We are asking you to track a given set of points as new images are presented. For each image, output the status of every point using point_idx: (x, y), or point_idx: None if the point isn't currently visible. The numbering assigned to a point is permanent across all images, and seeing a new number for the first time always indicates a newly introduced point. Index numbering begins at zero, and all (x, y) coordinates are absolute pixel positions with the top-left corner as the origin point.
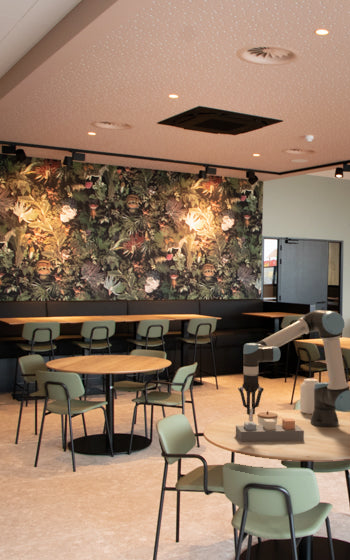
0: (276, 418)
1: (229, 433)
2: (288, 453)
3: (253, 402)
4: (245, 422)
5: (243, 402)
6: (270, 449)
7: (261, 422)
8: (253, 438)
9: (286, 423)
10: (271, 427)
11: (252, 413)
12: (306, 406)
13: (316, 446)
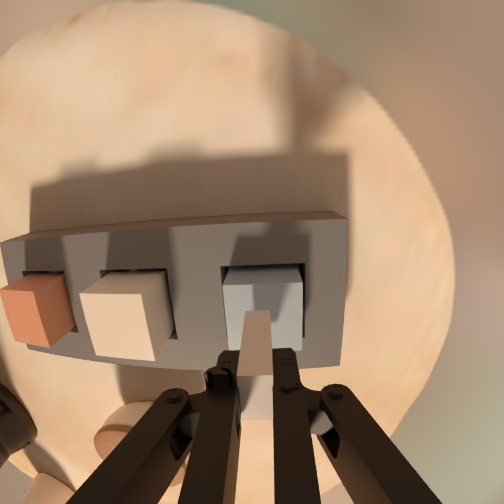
0: (101, 427)
1: (349, 365)
2: (129, 29)
3: (220, 431)
4: (294, 342)
5: (373, 422)
6: (194, 72)
7: None
8: (257, 216)
9: (36, 286)
10: (122, 279)
11: (245, 345)
12: (56, 495)
13: (8, 152)
